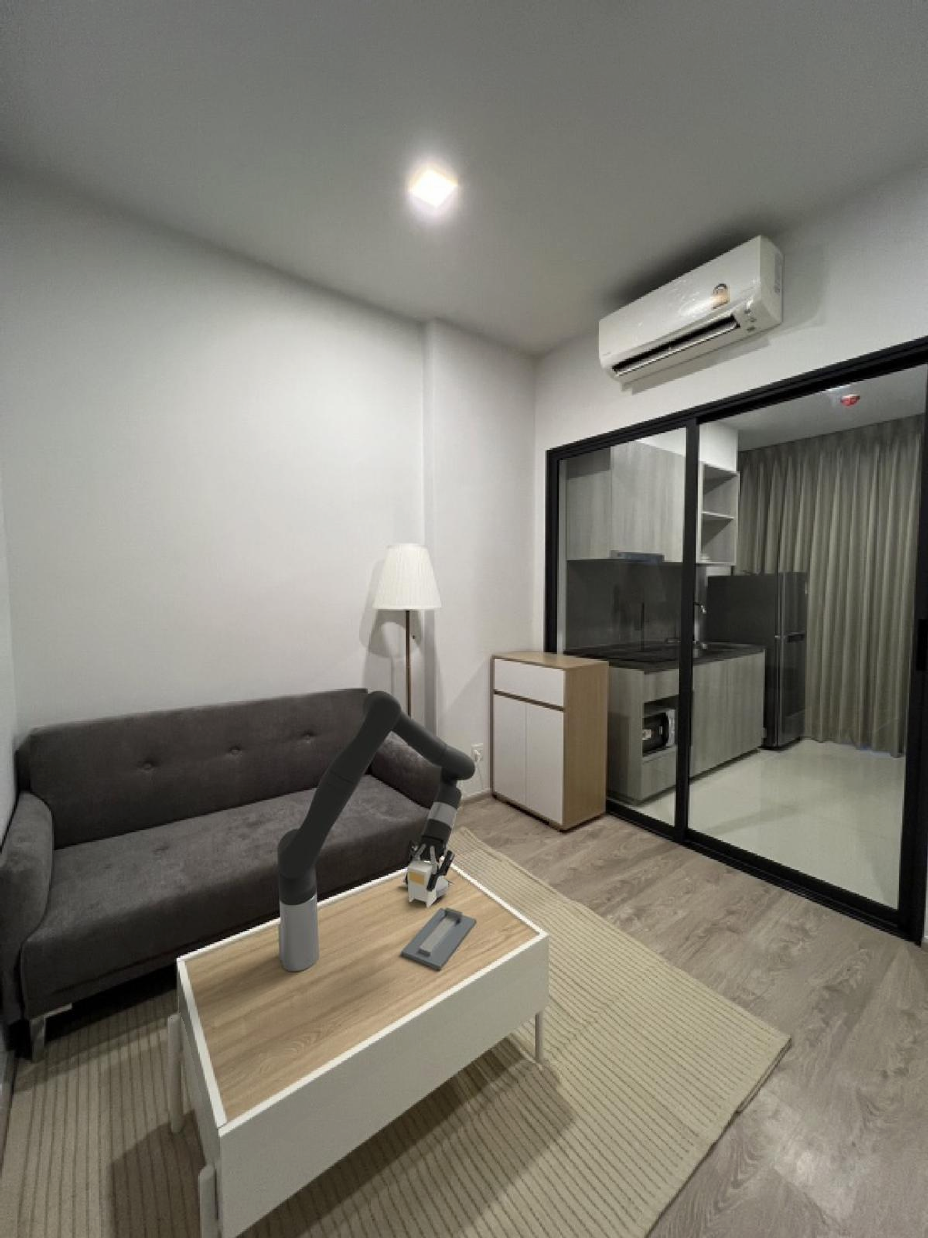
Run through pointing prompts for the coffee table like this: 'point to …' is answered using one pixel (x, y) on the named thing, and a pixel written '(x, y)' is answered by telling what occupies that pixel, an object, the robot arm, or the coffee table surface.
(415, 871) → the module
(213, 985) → the coffee table surface
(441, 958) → the rail board
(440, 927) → the rail
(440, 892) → the robot toy
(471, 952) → the coffee table surface
